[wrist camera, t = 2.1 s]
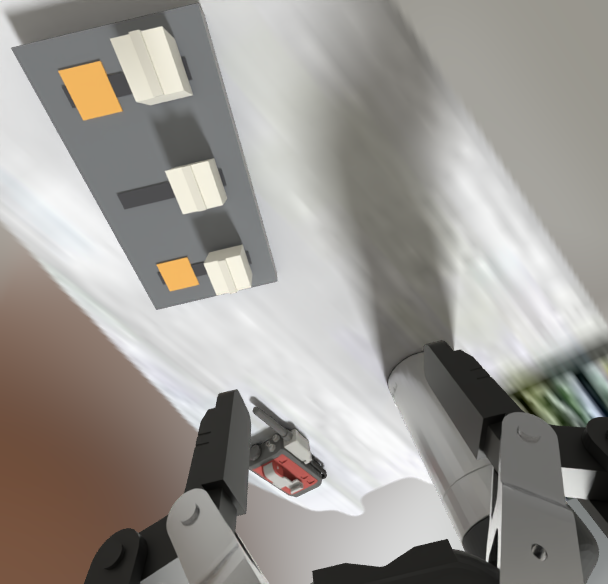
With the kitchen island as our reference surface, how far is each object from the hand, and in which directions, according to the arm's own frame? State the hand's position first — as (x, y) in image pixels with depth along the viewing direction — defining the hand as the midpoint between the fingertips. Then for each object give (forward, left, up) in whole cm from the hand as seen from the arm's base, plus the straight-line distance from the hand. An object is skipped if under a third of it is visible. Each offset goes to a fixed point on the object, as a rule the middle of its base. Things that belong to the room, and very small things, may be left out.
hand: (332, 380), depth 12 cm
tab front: (+6, -14, -16) cm, 22 cm away
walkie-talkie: (+9, +31, -19) cm, 37 cm away
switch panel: (+9, -7, -18) cm, 21 cm away
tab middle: (+6, -7, -16) cm, 18 cm away
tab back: (+6, 0, -16) cm, 17 cm away
